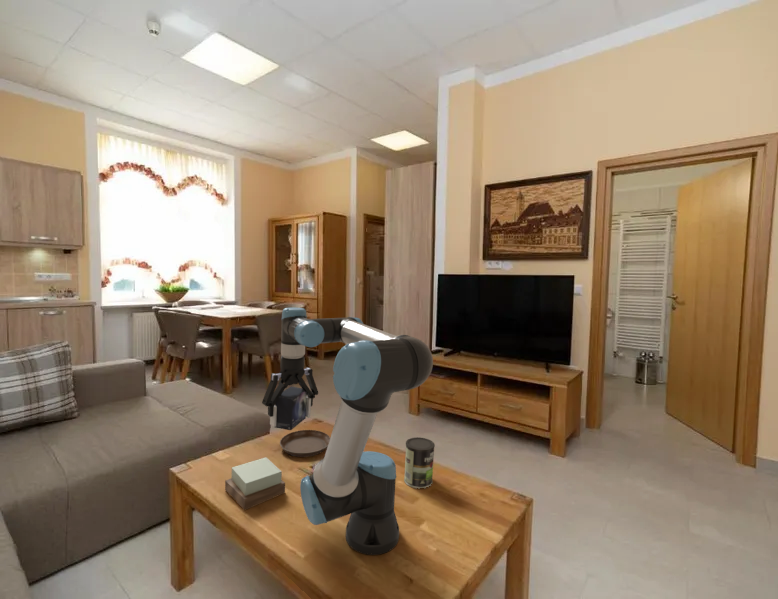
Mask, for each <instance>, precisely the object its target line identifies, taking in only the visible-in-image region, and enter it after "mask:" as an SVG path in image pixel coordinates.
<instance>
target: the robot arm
mask: <svg viewBox="0 0 778 599" xmlns="http://www.w3.org/2000/svg"><path fill="white" fill-rule="evenodd" d="M281 312H282V313H281V318H280V319H281V332H280V333H281V334H280V337H281V338H280V339H281V341H280V342H281V343H280V355H281V356H280V366H279V367H280V371H279V373H274V372H272V373H271V374H270V380H269V384H268V386H267V389H266V391H265V393H264V396H263V399H262V401H261V404H262V405H263V406H265V407H267V415H268V417H269V425H270V426H272V427H273V428H275V427H276V415H277V406H275V404H276V402H277V401H278V398H279V396H281V394H282V393H283V391H285V390H286V389H288V386H293V385H299V386H300V388H302V389H304V390H305V391H306V393H307V400H306V418H311V413H312V412H311V410H312V409H311V407H313V404H314V403H313V402H314V401H313V400H314V399H315V398H316V396H317V395H319V390H318V388H317V385H316V382H315V379H314V376H313V369H312V368H310V367H308V366H307V367H305V359H306V357H305V354H306V347H308V348H314V347H317V346H319V345H320V344H329V343H339V342H340V343H343V344H345V345H344V346H342V347H341V349H340V350H339V351H338V352H337V355H336V357H335V359H334V364H333V365H332V366H333V367H332V371H333V373H334V374H333V376H332V380H333V386H334V389H335V391H336V394H338V396H339V398H340V400H341V401H340V406H339V408H338V411H337V416H336V417H335V418H336V419H335V422H334V424H333V428H332V431H331V434H330V436H329V437H330V441H329V444H328V447H327V448H326V449H325V454H324V457H323V458H322V459H321V460H319V461H318V462H317V464H316V465H315V467H314V470H313V471H312V472H313V473H312V474H311V475H305V477H302V478H301V480H300V485H299V486H300V487H299V488H300V497H301V501H302V507H303V510H304V512H305V514H306V518H307V520H308V521H309V523H311V524H312V525H314V526H319V525H323V524H327V523H328V522H329V523H330V522H332V521H334V520H337V519H339V518H343V517H346V516H348V515H350V516H349V518H348V521H347V524H346V527H345V539H346V543H347V544H348V546H349V547H350V548H351V549H352V550H354V551H355V552H358V553H360V554H363V555H371V556H374V555H383V554H386V553H388V552H390V551H392V550H393V549H394V548H395V547H396V546H397V544H398V542H399V539H400V526H399V524H398V520H397V515H396V513H395V498H396V479H397V467H396V463H395V461H394V460H393V458H392V457H391V456H388V455H387V454H386V453H385V454H384V453H381V452H379V451H370V450H367V451H365V448H366V446H367V442H368V441H369V440H368V439H369V437H370V434H371V432H372V429H373V426H374V424H375V421H376V418H377V415H378V413H381V412H382V411H385V409H387V407H388V405H389V402H390V400H391V397H392V395H393V394H394V393H398V392H403V391H404V392H405V391H409V390H413V389H415V388H418V387H420V386H422V385H423V384H424V383H425V382H426V381H427V380H428V378H429V377H430V375H431V374H432V371H433V366H434V358H433V357H434V356H433V355H432V354H433V353H432V351H431V350H430V348H429V346H428V345H427V344H426V343H425V341H422V339H419V338H417V337H413V336H411V335H408V334H399V335H396V334H393V333H390V332H387V331H384V330H382V329H378V328H375V327H373V326H370V325H367V324H364V322H363V321H362V319H361V318H359V317H352V316H348V317H334V318H333V317H332V318H329V317H328V318H326V317H325V318H308V316H307V310H306V309H305V308H303V307H293V306H292V307H285V308H283V309H282V311H281ZM304 375H305V377H306V381H307V383H308V384H307V383H306V381H305V380H304V378H303V376H304Z"/></svg>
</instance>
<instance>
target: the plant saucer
mask: <svg viewBox="0 0 778 599" xmlns="http://www.w3.org/2000/svg"><path fill="white" fill-rule="evenodd" d="M330 437H331V436H330V435H329V434H327V433H326V432H323V431H321V430H316V429H315V430H314V429H302V430H295V431H292V432H289V433H287V434H286V435H284V436H282V438H281V439H280V442H279V445H280V447H281V449H282V450H283V451H284V452H285V453H287V454H288V455H291V456H293V457H297V458H298V457H299V458H306V457H313V456H316V455H318V454H319V455H320V454H321V453H323V452H324V451H326V450H327V447H328V444H329V441H330Z"/></svg>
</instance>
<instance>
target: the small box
mask: <svg viewBox="0 0 778 599" xmlns="http://www.w3.org/2000/svg"><path fill="white" fill-rule="evenodd" d="M307 397H308V396H307V393H306V391H305V390H304V389H302V387H297V386H293V385H290V386H289V387H287V388H285V389H284V391H283V393H282V394H281V396H279V398H278V401H277V402H276V404H275V406H277V415H276V427H274V428H276V429H280V430H281V429H282V430H287V431H293V429H295V428H296V427H297V426H298V425H300V423H302V422H303V421H304V420H306V419H307V417H306V400H307Z"/></svg>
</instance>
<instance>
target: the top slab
mask: <svg viewBox="0 0 778 599" xmlns="http://www.w3.org/2000/svg"><path fill="white" fill-rule="evenodd" d="M282 472H283V471H282V470H281V469H280V468H279V467H277V465H275V463H273V461H271V460H270V459H269V458H268V457H262V458H259V459H256V460H252V461H249V462H246V463H242V464H239V465H236V466H232V467H231V478H232V480H233V481H234V483H235V484H236V485H237V486H238V487H239V489H240V490H241V491H242V492H243V493H244V495H245V496H246V495H249V494H252V493H255V492H258V491H260V490H263V489H266V488H269V487H271V486H274V485H277V484H280V483H281V480H282V478H283V477H282Z"/></svg>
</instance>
